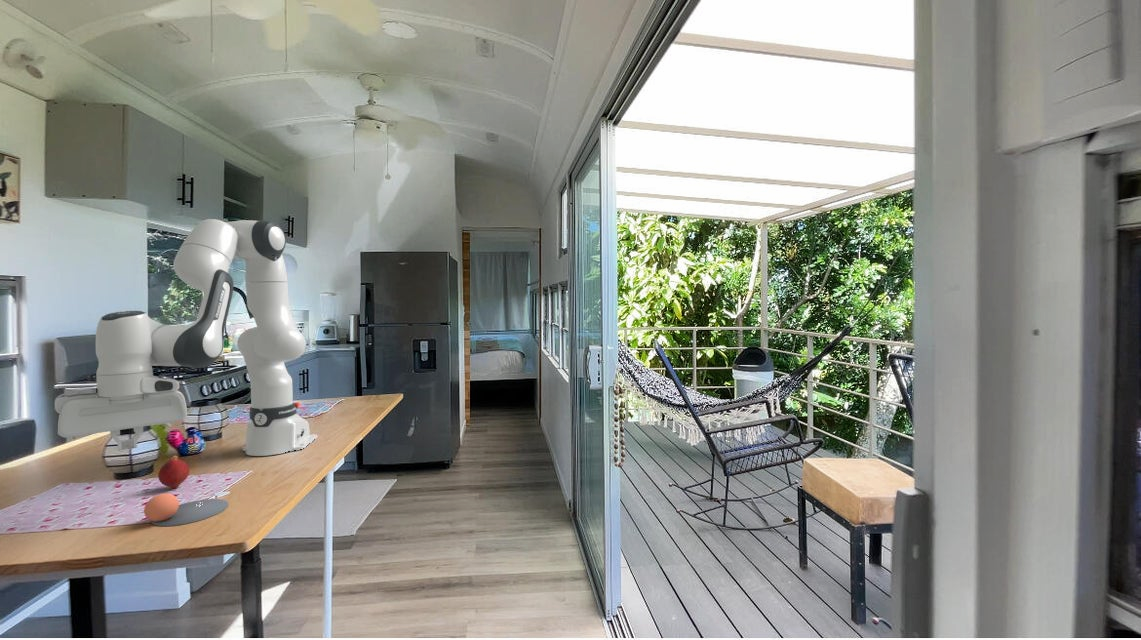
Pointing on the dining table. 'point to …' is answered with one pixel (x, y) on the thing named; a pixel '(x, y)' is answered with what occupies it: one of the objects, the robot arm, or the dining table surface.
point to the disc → (194, 512)
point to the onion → (173, 472)
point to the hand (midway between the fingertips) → (127, 448)
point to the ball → (161, 507)
